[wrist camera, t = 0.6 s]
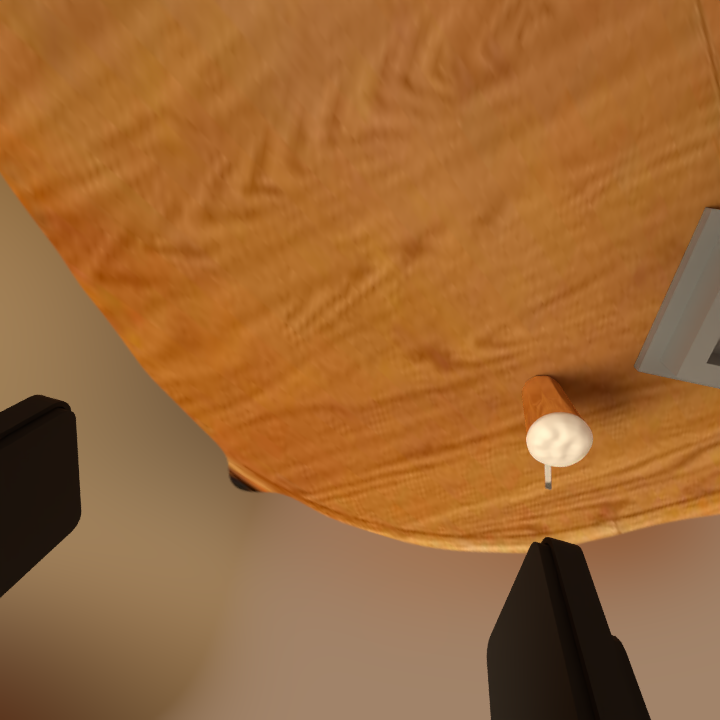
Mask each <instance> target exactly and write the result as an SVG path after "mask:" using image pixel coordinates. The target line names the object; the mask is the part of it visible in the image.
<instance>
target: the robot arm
mask: <svg viewBox="0 0 720 720" xmlns="http://www.w3.org/2000/svg"><path fill="white" fill-rule="evenodd" d="M80 517H81V499H80V482H79V465H78V448H77V431H76V417H75V414H74V413H73V412H72V411H71V408H70V406H69V405H68V404H67V403H66V402H64V401H60V400H57V399H53V398H50V397H46V396H43V395H34V396H31V397H29V398H27V399H25V400H23V401H21V402H19V403H17V404H15V405H13V406H11V407H9V408H8V409H6V410H4V411H2V412H0V597H2V596H3V595H4V593H6V592H7V591H8V590H9V589H10V588H11V587H12V586H13V585H15V584H16V583H17V582H18V581H19V580H20V579H21V578H22V577H23V576H24V575H25V574H26V573H27V572H28V571H30V570H31V569H32V568H33V567H34V566H35V565H36V564H37V563H38V562H39V561H40V560H41V559H43V558H44V557H45V556H46V555H47V554H48V553H49V552H50V551H51V550H52V549H53V548H54V547H56V546H57V545H58V544H59V543H60V542H61V541H62V540H63V539H64V538H65V537H66V536H67V535H68V534H70V533H71V532H72V531H73V529H74V528H75V527H76V526H77V524H78V522H79V520H80ZM487 667H488V668H487V669H488V682H489V696H490V712H491V720H651V719H650V716H649V713H648V711H647V708H646V705H645V702H644V700H643V697H642V694H641V691H640V689H639V686H638V683H637V681H636V678H635V675H634V673H633V669H632V667H631V664H630V661H629V659H628V656H627V653H626V651H625V649H624V647H623V645H622V643H621V642H620V640H619V639H618V638H617V637H616V636H613V635H611V632H610V629H609V627H608V624H607V621H606V618H605V615H604V612H603V610H602V606H601V603H600V601H599V598H598V595H597V592H596V589H595V586H594V583H593V580H592V577H591V575H590V572H589V569H588V566H587V563H586V560H585V557H584V554H583V552H582V550H581V548H580V547H579V546H578V545H575V544H571V543H568V542H564V541H561V540H557V539H553V538H550V537H546V538H544V539H543V541H542V542H541V543H538V542H533V543H532V544H531V546H530V548H529V550H528V552H527V555H526V557H525V559H524V561H523V564H522V566H521V568H520V570H519V573H518V575H517V577H516V580H515V582H514V584H513V586H512V588H511V591H510V593H509V595H508V597H507V600H506V602H505V604H504V607H503V609H502V611H501V613H500V615H499V618H498V620H497V622H496V624H495V627H494V629H493V631H492V633H491V636H490V639H489V642H488V648H487Z"/></svg>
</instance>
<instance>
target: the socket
mask: <svg viewBox="0 0 720 720" xmlns="http://www.w3.org/2000/svg"><path fill="white" fill-rule="evenodd" d="M634 367H635V368H636V370H637V371H639V372H644V373H648V374H653V375H658V376H662V377H667V378H672V379H677V380H681V381H686V382H691V383H695V384H700V385H705V386H710V387H714V388H719V389H720V210H718V209H712V208H705V210H704V212H703V214H702V216H701V219H700V221H699V223H698V225H697V228H696V230H695V232H694V234H693V236H692V239H691V241H690V243H689V245H688V248H687V250H686V252H685V254H684V256H683V259H682V261H681V263H680V265H679V267H678V270H677V272H676V274H675V276H674V279H673V281H672V283H671V285H670V287H669V290H668V292H667V294H666V296H665V298H664V301H663V303H662V305H661V307H660V310H659V312H658V314H657V316H656V318H655V321H654V323H653V325H652V327H651V329H650V332H649V334H648V336H647V338H646V341H645V343H644V345H643V347H642V349H641V352H640V354H639V356H638V358H637V360H636V363H635V365H634Z"/></svg>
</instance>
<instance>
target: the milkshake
mask: <svg viewBox="0 0 720 720" xmlns="http://www.w3.org/2000/svg"><path fill="white" fill-rule="evenodd" d="M522 400H523V408H524V416H525V426H526V443H527V447H528V449H529V451H530V453H531V455H532V456H533V457H534V458H535V459H536V460H537V461H539V462H541V463H543V464H545V488H546V489H549V490H551V488H552V487H551V466H555V467H566V466H570V465H572V464H574V463H577V462H578V461H580V460H581V459H583V458H584V457H585V456H586V454H587V453H588V451H589V450H590V448H591V446H592V443H593V435H592V432H591V429H590V428H589V426H588V425H587V423H586V422H585V421H584V419H583V418H582V417H581V415H580V414H579V413H578V411H577V410H576V409H575V407H574V406H573V404H572V403H571V401H570V400H569V398H568V397H567V395H566V394H565V392H564V391H563V389H562V388H561V386H560V385H559V383H558V382H557V381H555V380H554V379H552V378H551V377H549V376H535V377H533V378H531V379H530V380H528V381H527V382H525V385H524V387H523V390H522Z"/></svg>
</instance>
